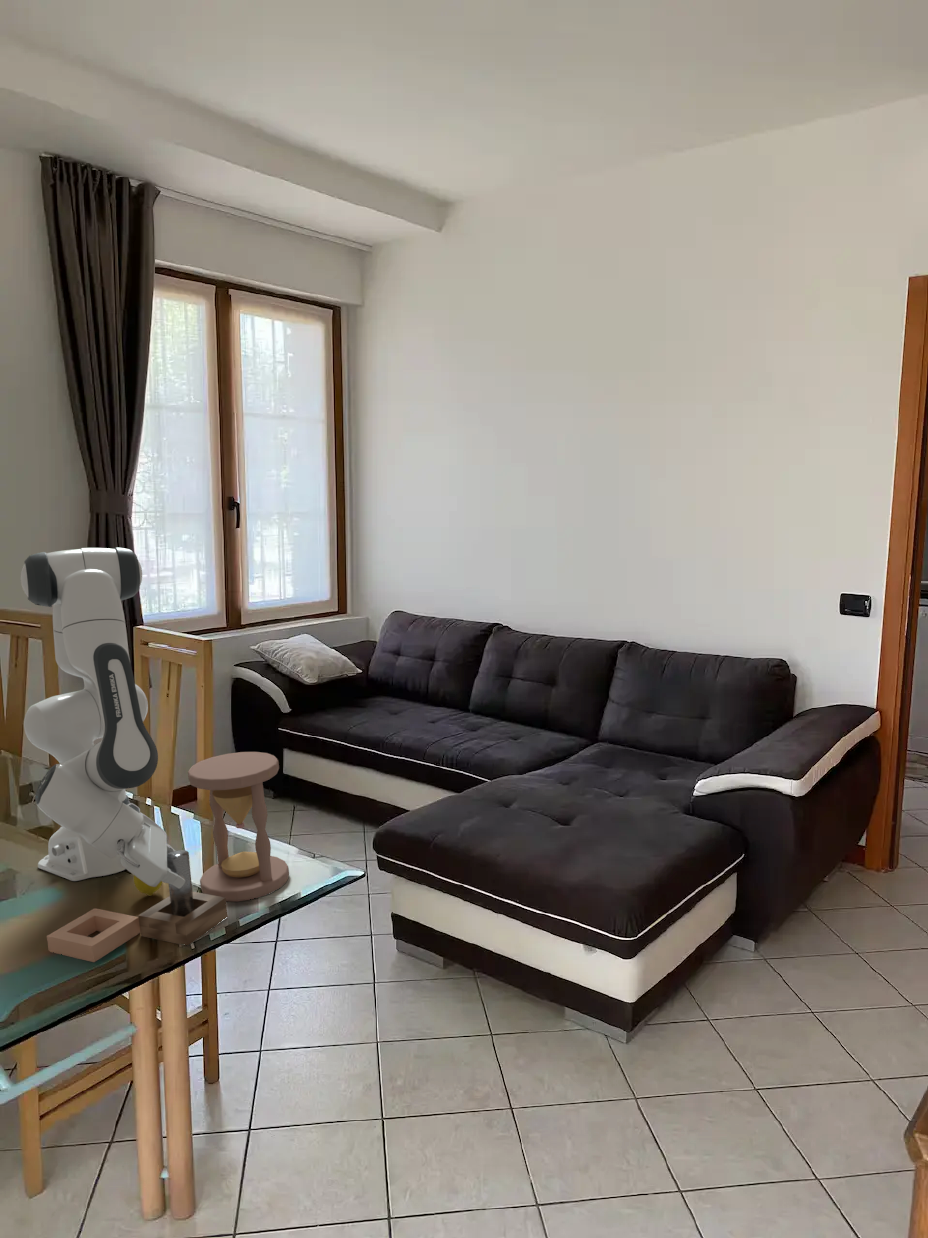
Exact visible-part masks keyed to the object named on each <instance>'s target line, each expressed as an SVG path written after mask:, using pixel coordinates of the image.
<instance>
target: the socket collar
mask: <svg viewBox="0 0 928 1238" xmlns="http://www.w3.org/2000/svg"><path fill="white" fill-rule="evenodd" d="M95 932H99V933H98V934H96V935H95V936H93V937H90V935H92V934H93V933H95ZM139 934H140V926H139V918H138V916H135V915H130V914H126V913H121V912H115V911H111V910H105V909H99V908H95V907H94V908H92V909H91V910H89V911H87V912H86V913H84V914H82V915H81V916H78V917H77V918H75V919H73V920H72V921H70V922H68V923H66V924H65V925H63V926H62V927H60V928H58V929H57V930H55V931H53V932H51V933H50V934H47V935H46V940H47V941H46V942H47V946H48V952H49V951H52V952H51V953H53V952H54V953H53V954H57V955H61V954H62V955H63V956H66V957H70V958H74V959H78V960H83V961H87V962H91V963H95V962H97V961H98V960H100V959H102V958H103V957H106V955H108V954H110V953H111V952H113V951H114V950H115V949H117V948H118V947H120V946H123V944H125V943H126V942H128V941H130V940H131V939H133V938H135V937H136V936H137V935H139Z"/></svg>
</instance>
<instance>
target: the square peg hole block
mask: <svg viewBox="0 0 928 1238" xmlns="http://www.w3.org/2000/svg"><path fill="white" fill-rule="evenodd" d="M192 892H193V902H194V911H192V912H191V913H189V914H188V915H186V916H185V917H182V916H177V915H172V912H171V902H170V895H169V896H167V897H166V898H164V899H163V900H161V901H159V902H158V903H156V904H154V905H152V906H151V907H150V908H147V909H146V910H144V911H143V912H141V913H139V915H137V917H138V918H139V926H140V933H139V934H140V937H145V938H150V939H154V940H157V941H163V942H168V943H172V944H177V945H181V944H185V945H184V946H186V945H188V946H190V945H191V944H193V943H194V942H195V941H197V940H198V939H200V938H201V937H202V936H204V935H205V934H206V932H207V931H208V932H210V931H211V930H212V929H214V928H215V927H217V926H218V925H219V924H220V923H219V922H221V921H222V920H223V919H225V918H226V917H228V918H229V916H228V915H229V914H228V905H227V902H226V898H225V897H220V896H214V895H209V894H203V892H197V891H192ZM225 920H226V919H225ZM222 922H223V921H222ZM222 922H221V923H222ZM218 923H219V924H218ZM217 924H218V925H217ZM216 925H217V926H216ZM214 926H215V927H214ZM213 927H214V928H213ZM211 928H212V929H211ZM210 929H211V930H210ZM209 930H210V931H209ZM208 932H207V933H208ZM189 944H190V945H189Z"/></svg>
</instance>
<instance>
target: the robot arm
mask: <svg viewBox="0 0 928 1238" xmlns="http://www.w3.org/2000/svg"><path fill="white" fill-rule="evenodd" d="M142 581H143V569H142V565H141V562H140V560H139V559H138V556H137V554H136V553H135V552H134V551H133V550H131V549H129V548H124V547H113V548H109V547H108V548H107V547H80V548H76V549H74V548H73V549H66V550H64V549H63V550H58V551H57V550H56V551H52V552H46V551H42V552H36V553H33V554H31V555H28V557H27V558H26V559H25V560H24V564H23V565H22V569H21V572H20V584H21V588H22V591H23V593H24V594H25V595H26V596H27V601H29V602H31V603H32V604H34V605H36V606H40V607H41V606H42V607H48V608H52V628H53V630H52V631H53V645H54V655H55V656H54V657H55V662H56V664H57V666H58V667H59V668H60V670H61V671H63V672H64V673H66V674H69V675H71V676H74V677H78V678H81V679H82V680H83V689H80V690H77V691H72V692H67V693H66V692H65V693H63V694H58V695H57V694H56V695H53V696H50V697H48V698H45V699H43V700H40V701H38V702H36V703H34V704H32V705H30V706H29V707H28V709H27V711H26V712H25V715H24V719H23V729H24V733H25V736H26V738H27V740H29V742H30V743H31V744H32V745H33V746H34V747H36V749H37V748H38V749H40V750H42V751H44V752H46V753H48V754H49V755H51V757H52V756H53V757H54V758H55V760H56V761H58V763H56V764H54V765H52V766H51V767H50V768H49V769H48V770H47V771H46V773H45V774H44V776H43V778H42V780H41V781H40V783H39V785H38V787H37V789H36V792H35V796H34V797H35V804H36V806H37V807H38V808H39V810H41V812H43V814H45V815H46V817H48V818H49V819H51V820H52V821H54V822H55V823H56V824H58V825H59V826H60V827H59V829H57V831H56V832H54V833H53V834H52V835H51V837H50V838H49V840H48V845H47V846H48V847H47V848H48V850H47V851H48V854H47V855H45V856H44V857H43V858H41V859H40V860H39V861H38V863H37V867H38V869H41V870H43V871H46V872H48V873H50V874H53V875H55V876H58V877H62V878H65V879H67V880H69V881H71V882H78V881H82V880H86V879H91V878H96V877H98V878H99V877H102V876H103V877H105V876H109V875H112V874H113V875H114V874H117V873H119V872H122V871H125V870H127V871H128V872H129V873H131V874H132V875H133V876H134V875H135V876H136V877H137V878H139V879H140V880H141V881H143V882H144V883H146V884H147V885H149V886H152V887H156V886H157V885H158V884H159V883H160V882H161V881H162V883H165V884H168V885H169V884H172V885H174V886H175V887H177V888H181V887H182V886H183V885H184V883H185V878H184V877H183V876H181V875H180V874H179V873H178V874H176V873H174V872H172V871H171V870H170V869H169V868H168V867H167V854H168V853H170V852H173V851H176V849H174V848H173V847H172V846H171V845H170V844H169V843H168V841H167V840H168V834H167V833H166V831H165V830H164V829H163V828H162V827H161V826H159V824H158V823H156V822H155V821H154V820H152V819H151V818H150V817H148V816H147V815H145V814H144V813H142V812H141V809H140V807H139V806H137V805H136V804H135V803H133V802H130V800H129V796H128V795H127V792H126V789H134V788H137V787H140V786H141V785H144V784H145V783H147V782H148V781H149V780H150V779H151V778H152V777H153V775H154V774H155V771H156V769H157V767H158V762H159V752H158V749H157V746H156V743H155V742H154V740H153V738H152V736H151V735H150V733H149V731H148V730H147V728H146V726H145V724H144V721H145V720H146V718H147V714H148V710H149V702H148V698H147V696H146V695H147V694H146V693H145V692H144V691H143V688H141V686H139V685H138V684H136V683H135V679H134V677H135V676H134V673H133V670H132V669H133V668H132V665H131V659H130V654H129V645H128V633H127V627H126V619H125V613H124V610H123V604H122V601H124V600H127V599H130V598H131V599H132V598H133V597H134V596H136V594H137V593H138V592H139V591H140V589H141V585H142ZM99 739H101V741H99V742H97V743H94V741H96V740H99Z"/></svg>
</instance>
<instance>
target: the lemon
mask: <svg viewBox="0 0 928 1238" xmlns="http://www.w3.org/2000/svg"><path fill="white" fill-rule="evenodd" d="M133 883H134V886H135V887H136V889H137V890H138V891H139V892H140V893H142V894H146V895H148V896H153V894H154V893H155V892H157V891H159V889H160V888H161V886H162V884H163V882H162V881H161V882H160V883H159V884H158V885H157V886H156V887H152V886H149V885H147V884H146V883H144V882H143V881H141V880H140V879H139V878H137V877H136V876H135V875H133Z"/></svg>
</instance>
